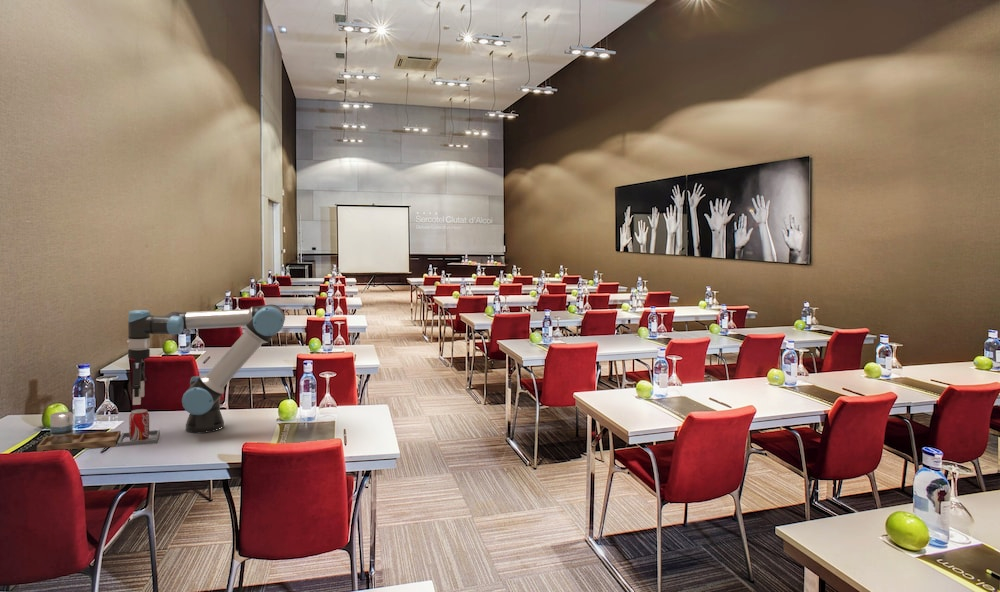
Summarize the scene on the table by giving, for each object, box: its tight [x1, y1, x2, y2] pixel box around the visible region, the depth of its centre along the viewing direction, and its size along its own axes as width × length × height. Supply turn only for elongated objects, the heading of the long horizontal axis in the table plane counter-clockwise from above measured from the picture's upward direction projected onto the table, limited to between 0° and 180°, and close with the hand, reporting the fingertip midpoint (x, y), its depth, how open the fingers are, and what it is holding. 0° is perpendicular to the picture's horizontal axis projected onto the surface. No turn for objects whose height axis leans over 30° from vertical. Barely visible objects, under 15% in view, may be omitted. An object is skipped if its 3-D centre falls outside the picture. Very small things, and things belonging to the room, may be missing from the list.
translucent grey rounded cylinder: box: [49, 411, 74, 445], centre depth 239 cm, size 7×7×12 cm
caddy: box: [36, 430, 122, 452], centre depth 242 cm, size 25×13×2 cm, turn 115°
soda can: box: [128, 408, 150, 441], centre depth 250 cm, size 7×7×12 cm
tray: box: [116, 429, 161, 447], centre depth 250 cm, size 14×14×2 cm
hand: (138, 400), depth 249 cm, fingers open, 13 cm apart
